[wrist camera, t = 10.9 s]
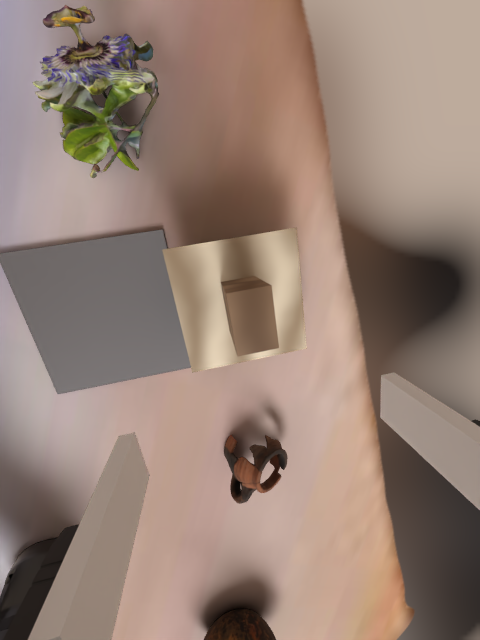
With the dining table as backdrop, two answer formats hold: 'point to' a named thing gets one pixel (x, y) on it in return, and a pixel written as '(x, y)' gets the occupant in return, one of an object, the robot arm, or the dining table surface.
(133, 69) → the passion flower
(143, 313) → the mat
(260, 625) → the glass bottle
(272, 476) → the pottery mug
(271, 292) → the lid
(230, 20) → the dining table surface
